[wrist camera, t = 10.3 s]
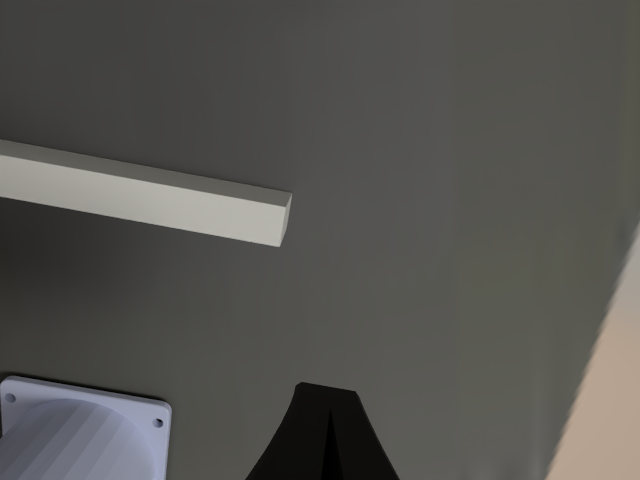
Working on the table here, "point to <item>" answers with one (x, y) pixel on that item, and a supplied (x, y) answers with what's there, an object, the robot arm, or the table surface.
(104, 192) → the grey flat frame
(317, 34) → the table surface
